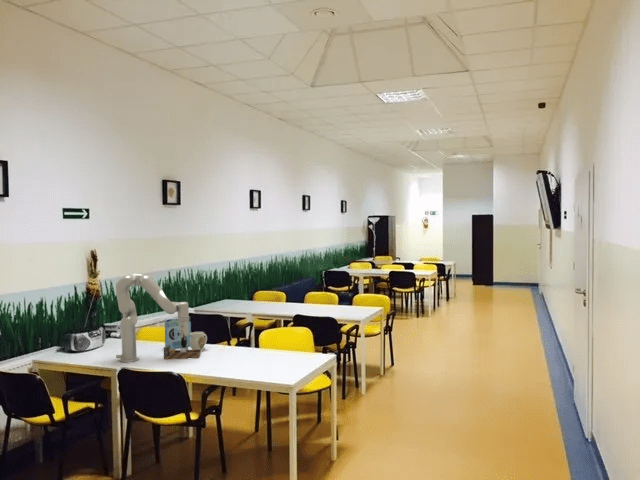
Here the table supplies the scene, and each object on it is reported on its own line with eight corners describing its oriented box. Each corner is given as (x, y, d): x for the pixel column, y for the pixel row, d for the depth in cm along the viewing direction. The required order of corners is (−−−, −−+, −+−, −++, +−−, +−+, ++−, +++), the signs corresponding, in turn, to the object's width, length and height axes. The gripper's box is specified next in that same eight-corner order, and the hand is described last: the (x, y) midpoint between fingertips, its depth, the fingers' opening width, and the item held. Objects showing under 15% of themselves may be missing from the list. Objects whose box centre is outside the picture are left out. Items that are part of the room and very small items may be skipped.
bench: (163, 359, 385) (163, 348, 384) (167, 356, 395) (166, 344, 394) (198, 358, 386) (198, 347, 386) (200, 354, 396) (200, 343, 396)
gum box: (167, 350, 413) (166, 320, 412) (164, 349, 417) (164, 319, 416) (191, 346, 425) (190, 316, 424) (189, 345, 429) (188, 316, 428)
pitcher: (212, 348, 415) (211, 330, 415) (195, 353, 400) (194, 334, 400) (201, 347, 421) (201, 329, 421) (184, 352, 406) (183, 333, 405)
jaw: (180, 355, 387) (179, 336, 386) (182, 352, 394) (181, 334, 393) (186, 354, 387) (185, 336, 386) (188, 352, 394) (187, 334, 393)
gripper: (186, 321, 381) (187, 347, 382) (190, 317, 398) (191, 342, 398) (175, 321, 381) (176, 348, 382) (180, 317, 397) (181, 342, 398)
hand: (184, 344), depth 390 cm, fingers closed on jaw, 3 cm apart
